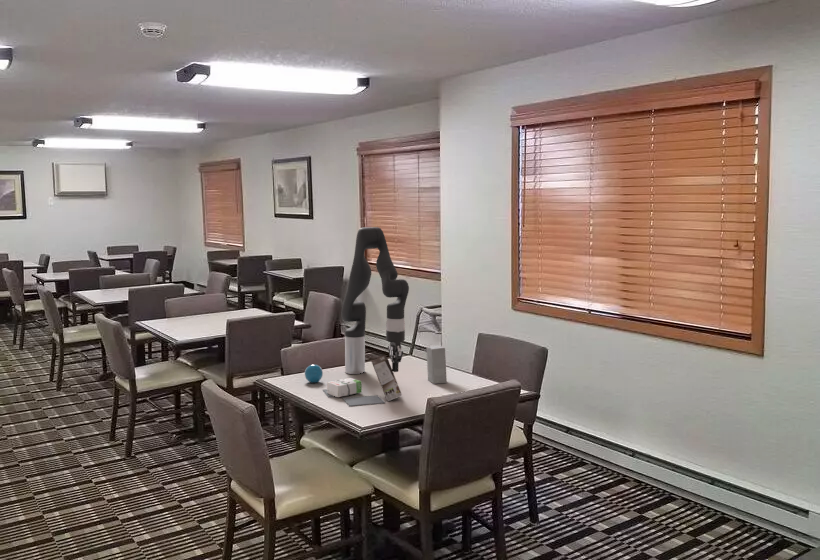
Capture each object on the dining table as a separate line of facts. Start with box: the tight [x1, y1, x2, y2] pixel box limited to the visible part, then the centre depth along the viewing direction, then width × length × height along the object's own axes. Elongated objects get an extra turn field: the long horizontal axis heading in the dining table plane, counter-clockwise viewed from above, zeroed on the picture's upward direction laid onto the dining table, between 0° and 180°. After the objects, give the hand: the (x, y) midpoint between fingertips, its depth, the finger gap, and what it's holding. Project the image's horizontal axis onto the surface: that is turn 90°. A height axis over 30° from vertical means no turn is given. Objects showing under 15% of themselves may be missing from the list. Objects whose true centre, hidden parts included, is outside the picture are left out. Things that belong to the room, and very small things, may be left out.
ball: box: [304, 364, 324, 384], centre depth 302 cm, size 8×8×8 cm
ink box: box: [326, 377, 363, 398], centre depth 284 cm, size 9×5×12 cm
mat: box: [322, 388, 386, 407], centre depth 280 cm, size 26×20×1 cm
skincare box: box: [425, 344, 448, 385], centre depth 304 cm, size 8×7×16 cm
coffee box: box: [370, 354, 402, 402], centre depth 277 cm, size 9×6×16 cm
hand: (395, 371), depth 277 cm, fingers closed
